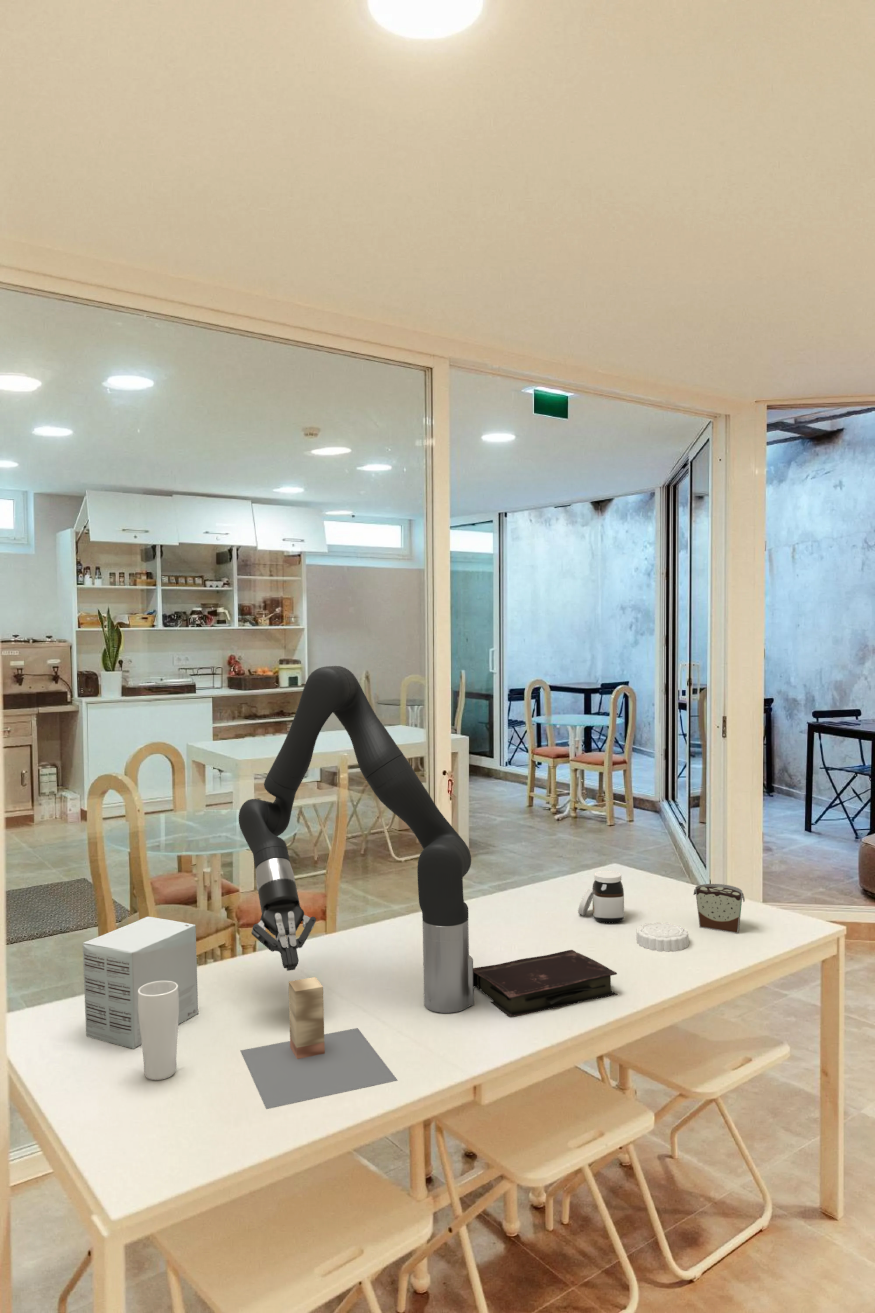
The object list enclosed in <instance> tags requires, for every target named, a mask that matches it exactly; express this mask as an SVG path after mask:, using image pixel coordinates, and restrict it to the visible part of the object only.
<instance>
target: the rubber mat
mask: <svg viewBox="0 0 875 1313" xmlns="http://www.w3.org/2000/svg"><path fill="white" fill-rule="evenodd" d="M324 1046H325V1053H324V1054H319V1055H314V1056H310V1057H305V1058H300V1059H297V1058H296V1056H295V1055H294V1053H293V1051H292V1049H291V1048H290V1040H287V1041H283V1042H277V1043H273V1044H267V1045H262V1046H257V1047H251V1048H245V1049H242V1050H240V1053H241V1056H242V1058H243V1061H244V1062H245V1065H246V1067H247V1069H248V1071H249V1073H250V1075H251V1078H252V1080H253V1083H254V1085H255V1087H256V1089H257V1092H258V1094H259V1096H260V1097H261V1100H262V1103H263V1105H264V1107H265V1109H266V1110H268V1109H269V1110H270V1109H274V1108H279V1107H283V1106H286V1105H288V1106H289V1105H292V1104H297V1103H301V1102H307V1101H311V1100H315V1099H320V1098H324V1097H329V1096H333V1095H338V1094H343V1093H347V1092H353V1091H357V1090H361V1089H365V1088H369V1087H375V1086H379V1085H383V1084H388V1083H392V1082H397V1081H398V1078H397V1077H396V1076H395V1074H393V1072H392V1071H391V1069H390V1068H389V1067H388V1066H387V1064H386V1063H385V1062H384V1060H383V1059H382V1058H381V1057H380V1055H379V1054H378V1052H377V1051H376V1050H375V1048H374V1047H373V1046H372V1045H371V1043H370V1042H369V1040H367V1038H366V1037H365V1036H364V1034H363V1032H362V1031H361V1030H360V1029H359V1028H358V1027H355V1028H352V1029H345V1030H340V1031H335V1032H330V1033H324Z"/></svg>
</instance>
